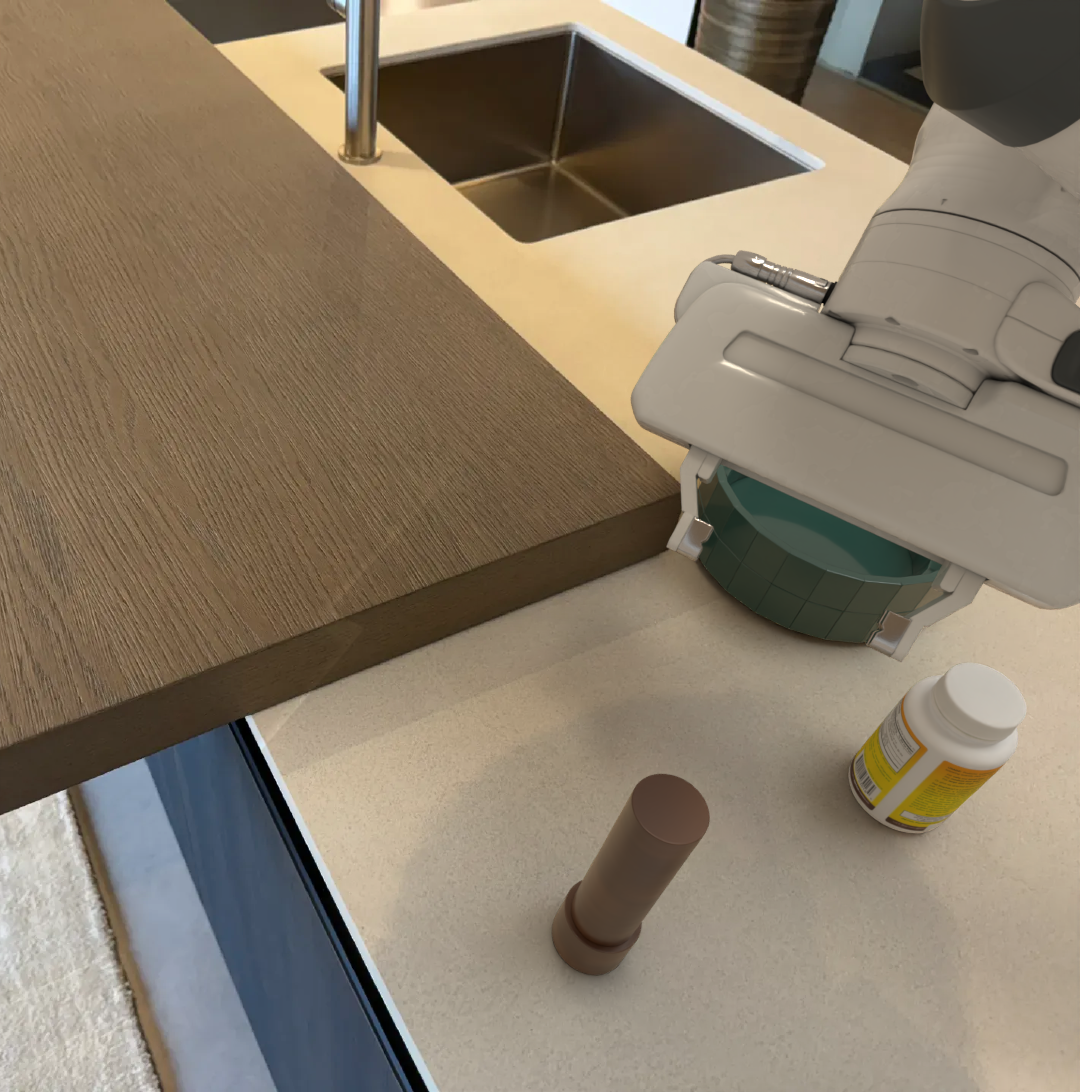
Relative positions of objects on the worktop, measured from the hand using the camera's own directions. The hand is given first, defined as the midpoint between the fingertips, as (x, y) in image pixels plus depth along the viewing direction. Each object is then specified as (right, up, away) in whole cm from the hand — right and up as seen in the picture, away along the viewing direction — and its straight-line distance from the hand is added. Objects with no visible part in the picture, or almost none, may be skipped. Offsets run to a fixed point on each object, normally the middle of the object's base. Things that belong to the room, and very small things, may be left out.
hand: (778, 602), depth 46 cm
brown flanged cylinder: (-7, -17, +6) cm, 20 cm away
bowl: (+13, +2, +25) cm, 29 cm away
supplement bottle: (+12, -12, +13) cm, 21 cm away
